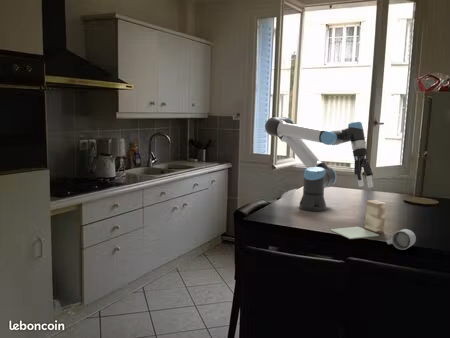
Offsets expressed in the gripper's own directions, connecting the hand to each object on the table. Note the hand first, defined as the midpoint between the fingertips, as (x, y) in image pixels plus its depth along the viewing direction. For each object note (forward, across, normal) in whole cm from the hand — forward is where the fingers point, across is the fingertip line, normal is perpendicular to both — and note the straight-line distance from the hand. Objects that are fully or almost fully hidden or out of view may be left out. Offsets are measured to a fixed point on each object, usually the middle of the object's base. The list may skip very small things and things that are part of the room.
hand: (366, 186), depth 220 cm
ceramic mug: (+32, -41, -24) cm, 58 cm away
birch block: (+24, -26, -10) cm, 37 cm away
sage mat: (+24, -37, -4) cm, 44 cm away
